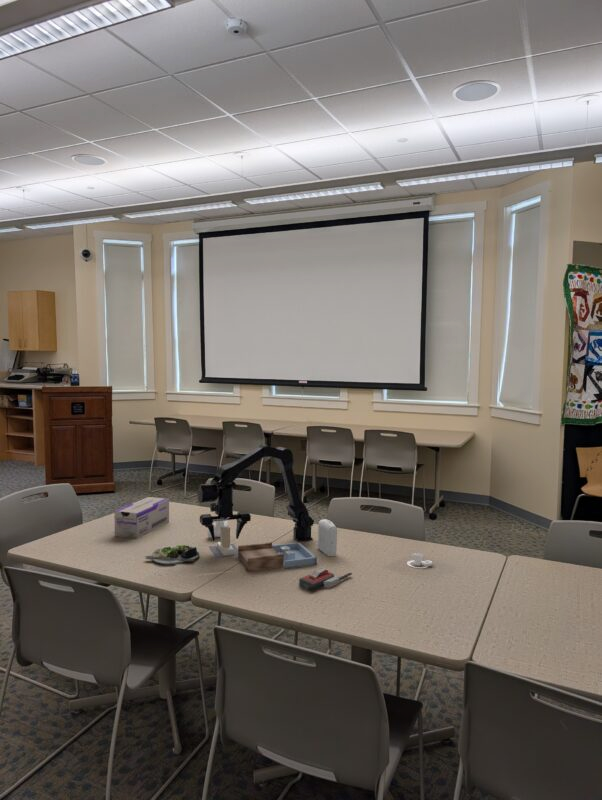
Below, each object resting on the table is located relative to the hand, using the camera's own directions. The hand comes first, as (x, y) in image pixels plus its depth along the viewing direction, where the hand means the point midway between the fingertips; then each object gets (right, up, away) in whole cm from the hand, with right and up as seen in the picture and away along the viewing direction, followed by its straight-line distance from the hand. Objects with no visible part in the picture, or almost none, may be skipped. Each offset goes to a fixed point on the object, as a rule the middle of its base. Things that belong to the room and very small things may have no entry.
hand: (225, 539), depth 211 cm
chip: (+22, -3, -5) cm, 22 cm away
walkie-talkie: (+37, -8, -27) cm, 47 cm away
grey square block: (+24, -4, -10) cm, 26 cm away
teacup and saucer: (+72, -7, -13) cm, 74 cm away
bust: (-5, -4, +19) cm, 20 cm away
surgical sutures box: (-40, -3, +28) cm, 49 cm away
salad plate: (-17, -5, -6) cm, 19 cm away
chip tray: (+26, -5, -6) cm, 27 cm away
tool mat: (0, -5, 0) cm, 5 cm away
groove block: (+14, -6, -10) cm, 18 cm away
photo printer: (+39, -5, +2) cm, 40 cm away
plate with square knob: (0, -4, 0) cm, 4 cm away
